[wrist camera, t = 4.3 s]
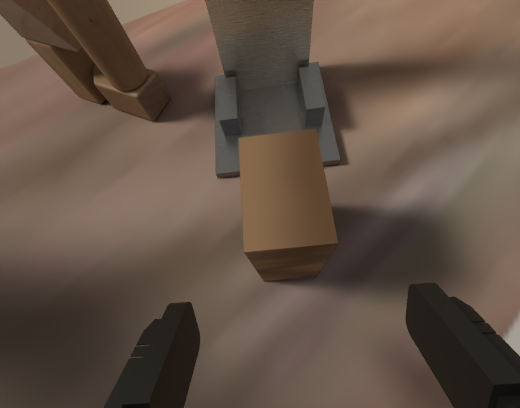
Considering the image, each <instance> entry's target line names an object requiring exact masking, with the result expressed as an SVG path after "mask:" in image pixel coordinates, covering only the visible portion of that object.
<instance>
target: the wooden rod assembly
mask: <svg viewBox="0 0 520 408" xmlns="http://www.w3.org/2000/svg"><path fill="white" fill-rule="evenodd" d="M0 14H1V16H2V17H3V18H4V19H5V20H6V21H7V22H8V23H9V24H10V25H11V26H12V27H13V28H14V29H15V30H16V31H17V32H18V33H19V34H20V36H22V37H24V38H25V40H26V41H27V42H28V43H29V45H30V46H31V47H32V48H33V49H34V50H35V51H36V52H37V53H38V54H39V55H40V56H41V57H42V58H43V59H44V60H45V61H46V63H47V64H48V65H49V66H50V67H51V68H52V69H53V70H54V71H55V72H56V73H57V74H58V75H59V76H60V77H61V78H62V79H63V80H64V82H65V83H66V84H67V85H68V86H69V87H70V88H71V89H72V90H73V91H74V92H75V93H76V94H77V95H78V96H79V97H81V98H84V99H87V100H90V101H93V102H96V103H99V104H102V103H104V101H105V100H106V99H107V100H108V102H109V103H110V104H111V105H112V106H113V108H115V109H117V110H120V111H123V112H126V113H129V114H132V115H135V116H138V117H141V118H144V119H147V120H150V121H155V120H156V118H157V117H158V115H159V114H160V113H161V111H162V110H163V108H164V107H165V106H166V104H167V103H168V101H169V100H170V95H169V93H168V92H167V90H166V88H165V86H164V84H163V82H162V80H161V78H160V77H159V75H158V73H157V72H156V71H153V70H150V69H146V67H145V66H144V64H143V62H142V60H141V59H140V57H139V55H138V53H137V52H136V50H135V48H134V46H133V45H132V43H131V41H130V39H129V38H128V36H127V34H126V32H125V31H124V29H123V27H122V25H121V24H120V22H119V20H118V19H117V17H116V15H115V13H114V11H113V10H112V8H111V6H110V4H109V3H108V1H107V0H0Z"/></svg>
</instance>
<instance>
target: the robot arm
mask: <svg viewBox="0 0 520 408" xmlns="http://www.w3.org/2000/svg"><path fill="white" fill-rule="evenodd" d="M406 325H407V328H408V331H409V334H410V336H411V337H412V339H413V341H414V342H415V344H416V346H417V347H418V349H419V351H420V352H421V354H422V356H423V357H424V359H425V360H426V362H427V364H428V365H429V367H430V369H431V370H432V372H433V374H434V375H435V377H436V379H437V380H438V382H439V384H440V385H441V387H442V389H443V390H444V392H445V394H446V395H447V397H448V398H449V400H450V402H451V403H452V405H453V407H454V408H520V356H519V355H518V354H517V353H516V352H515V351H514V350H513V349H512V348H511V347H510V346H509V345H508V344H507V343H506V342H505V341H504V340H503V339H502V338H501V337H500V336H499V335H497V334H496V332H495V331H494V329H493V328H492V327H491V326H490V325H489V324H488V323H485V320H484V319H483V318H482V317H481V316H480V315H479V314H478V313H477V312H476V311H475V310H474V309H473V308H472V307H471V306H469V305H467V304H466V303H464V302H462V301H461V300H459V299H458V298H456V297H448V296H447V295H446V294H445V293H444V291H443V290H442V289H441V288H440V287H439V286H438V285H437V284H435V283H422V284H411V285H410V286H409V290H408V299H407V309H406ZM199 346H200V333H199V329H198V325H197V321H196V318H195V314H194V310H193V307H192V304H191V303H190V302H181V303H170V304H169V305H168V306H167V308H166V310H165V312H164V315H163V317H162V319H155V320H154V321H153V322H152V323H151V324H150V325H149V326H148V327H147V328H146V329H145V330H144V331H143V333H142V335H141V337H140V339H139V341H138V343H137V347H135V349H134V351H133V353H132V354H131V358H130V359H129V360H128V362H127V364H126V366H125V368H124V370H123V372H122V374H121V375H120V377H119V379H118V381H117V383H116V385H115V387H114V389H113V391H112V393H111V395H110V397H109V398H108V400H107V402H106V404H105V406H104V408H184V404H185V400H186V397H187V393H188V389H189V385H190V382H191V378H192V374H193V370H194V366H195V363H196V359H197V355H198V351H199Z"/></svg>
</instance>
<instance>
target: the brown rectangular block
mask: <svg viewBox="0 0 520 408" xmlns="http://www.w3.org/2000/svg"><path fill="white" fill-rule="evenodd" d="M238 141H239V161H240V181H241V201H242V221H243V241H244V253H245V254H246V256H247V257H248V259H249V260H250V262H251V263H252V265H253V266H254V268H255V269H256V270H257V272H258V273H259V275H260V276H261V278H262V279H263V281H272V280H284V279H295V278H306V277H316V276H317V274H318V273H319V271H320V270H321V268H322V267H323V265H324V264H325V262H326V261H327V259H328V258H329V256H330V255H331V253H332V252H333V250H334V249H335V247H336V246H337V244H338V239H337V234H336V229H335V224H334V218H333V213H332V208H331V203H330V198H329V193H328V188H327V183H326V177H325V172H324V167H323V162H322V157H321V152H320V147H319V141H318V136H317V131H316V128H315V129H307V130H299V131H291V132H283V133H275V134H266V135H258V136H250V137H242V138H238Z"/></svg>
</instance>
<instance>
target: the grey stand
mask: <svg viewBox="0 0 520 408" xmlns="http://www.w3.org/2000/svg"><path fill="white" fill-rule="evenodd" d="M205 1H206V5H207V9H208V13H209V17H210V20H211V24H212V28H213V32H214V36H215V39H216V43H217V47H218V51H219V55H220V58H221V62H222V66H223V70H224V74H225V75H221V76H215V153H216V175H217V177H218V178H224V177H232V176H240V161H239V141H238V138H242V137H250V136H258V135H266V134H275V133H283V132H291V131H299V130H307V129H315V128H316V131H317V136H318V141H319V147H320V152H321V157H322V162H323V166H329V165H338V164H339V162H340V156H339V151H338V147H337V143H336V138H335V134H334V129H333V125H332V121H331V116H330V112H329V107H328V103H327V99H326V94H325V90H324V85H323V81H322V76H321V72H320V68H319V63H318V62H315V63H309V53H310V40H311V28H312V15H313V2H314V0H205Z"/></svg>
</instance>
